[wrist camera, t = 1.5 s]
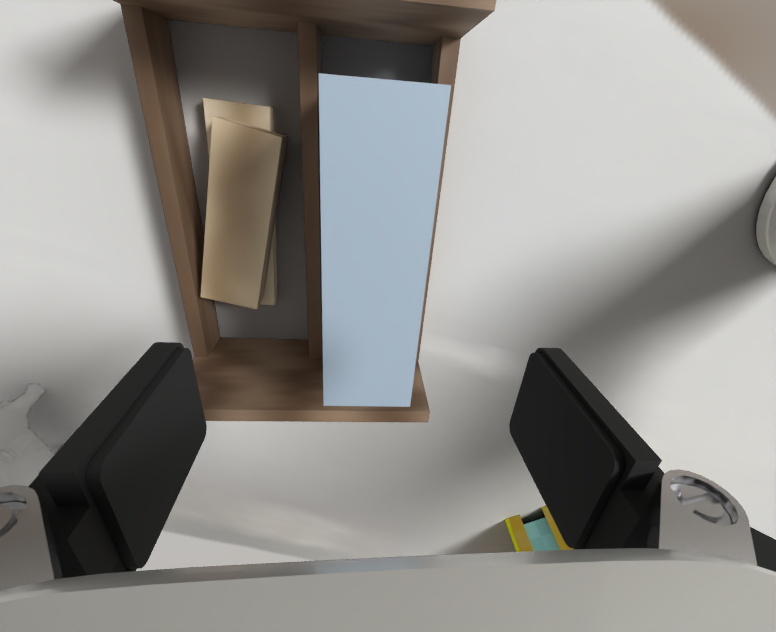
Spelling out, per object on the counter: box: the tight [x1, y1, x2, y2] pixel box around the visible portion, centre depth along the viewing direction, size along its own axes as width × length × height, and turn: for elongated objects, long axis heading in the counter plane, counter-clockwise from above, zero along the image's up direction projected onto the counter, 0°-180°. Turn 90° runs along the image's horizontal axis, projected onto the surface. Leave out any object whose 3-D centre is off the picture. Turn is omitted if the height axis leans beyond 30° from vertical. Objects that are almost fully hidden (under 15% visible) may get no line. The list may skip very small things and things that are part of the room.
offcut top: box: [201, 116, 288, 309], centre depth 25 cm, size 4×12×2 cm, turn 164°
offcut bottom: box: [203, 98, 278, 306], centre depth 27 cm, size 4×14×2 cm, turn 173°
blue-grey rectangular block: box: [319, 73, 451, 407], centre depth 23 cm, size 5×16×12 cm, turn 176°
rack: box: [113, 0, 496, 422], centre depth 24 cm, size 18×24×9 cm
